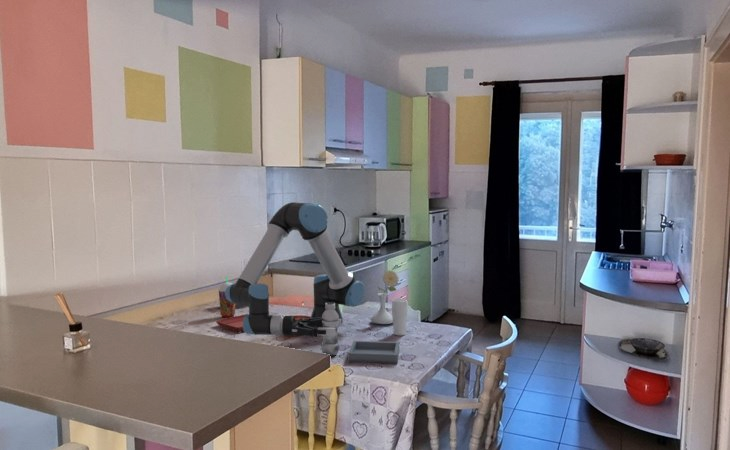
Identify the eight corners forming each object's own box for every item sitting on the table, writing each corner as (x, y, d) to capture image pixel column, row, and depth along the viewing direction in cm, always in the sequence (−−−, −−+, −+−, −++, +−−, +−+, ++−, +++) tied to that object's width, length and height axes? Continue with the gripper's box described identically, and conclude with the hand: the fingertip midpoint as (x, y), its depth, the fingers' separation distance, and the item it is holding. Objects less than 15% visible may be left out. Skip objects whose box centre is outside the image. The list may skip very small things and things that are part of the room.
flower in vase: (371, 326, 256) (371, 272, 254) (370, 320, 267) (370, 268, 265) (399, 326, 256) (399, 272, 254) (397, 320, 267) (397, 268, 265)
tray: (353, 349, 221) (353, 340, 221) (399, 350, 219) (399, 342, 219) (348, 362, 205) (348, 353, 205) (397, 364, 203) (397, 354, 203)
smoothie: (215, 318, 271) (214, 277, 269) (225, 314, 278) (225, 274, 277) (229, 319, 268) (229, 278, 266) (240, 315, 275) (239, 275, 274)
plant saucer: (214, 327, 255) (214, 320, 255) (247, 320, 268) (247, 313, 268) (237, 334, 243) (237, 327, 243) (270, 327, 256) (270, 319, 256)
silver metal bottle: (321, 352, 217) (321, 301, 215) (338, 352, 217) (338, 301, 216) (321, 357, 210) (321, 305, 209) (339, 357, 211) (339, 305, 209)
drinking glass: (406, 336, 239) (406, 302, 237) (390, 336, 240) (390, 301, 239) (408, 332, 245) (408, 299, 244) (392, 331, 247) (393, 298, 245)
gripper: (291, 326, 228) (343, 328, 225) (275, 344, 203) (332, 346, 201) (291, 308, 227) (343, 309, 225) (274, 324, 202) (332, 325, 200)
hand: (338, 327), depth 213 cm, fingers open, 13 cm apart
